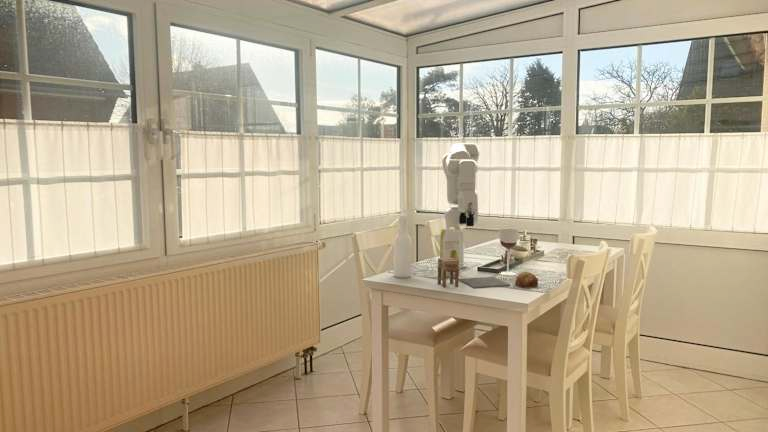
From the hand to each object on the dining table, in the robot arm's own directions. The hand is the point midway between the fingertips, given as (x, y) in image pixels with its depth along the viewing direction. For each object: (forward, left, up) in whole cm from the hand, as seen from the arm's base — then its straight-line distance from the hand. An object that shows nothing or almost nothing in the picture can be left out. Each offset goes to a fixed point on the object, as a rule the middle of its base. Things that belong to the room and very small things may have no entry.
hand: (466, 224), depth 258 cm
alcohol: (-23, -23, -28) cm, 43 cm away
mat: (+1, +9, -28) cm, 29 cm away
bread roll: (+10, +26, -28) cm, 40 cm away
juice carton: (-18, 0, -28) cm, 33 cm away
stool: (+1, -9, -28) cm, 29 cm away
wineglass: (-15, +30, -28) cm, 44 cm away
